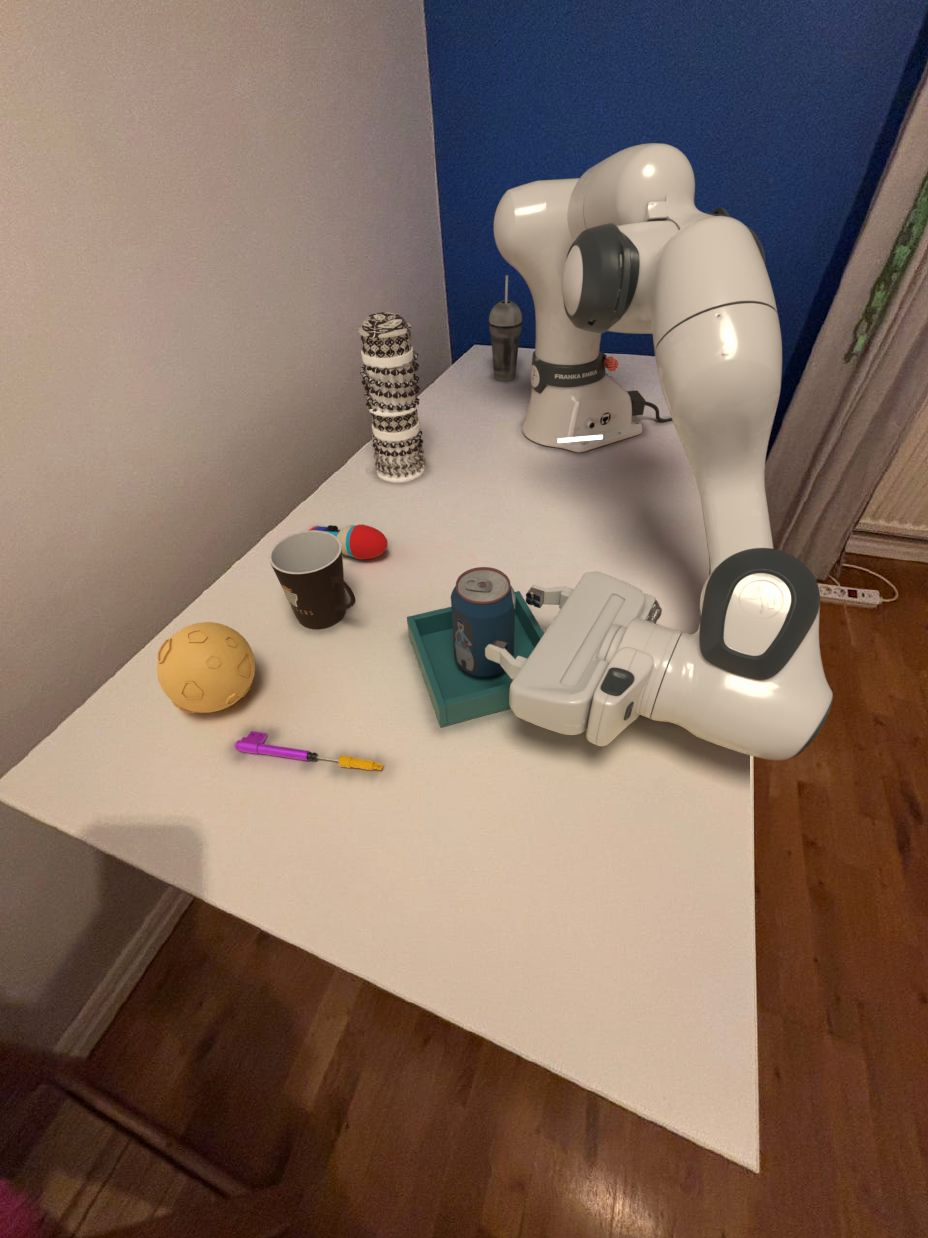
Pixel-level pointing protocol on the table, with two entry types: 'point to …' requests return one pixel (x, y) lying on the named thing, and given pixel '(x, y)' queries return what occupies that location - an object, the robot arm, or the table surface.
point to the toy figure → (358, 540)
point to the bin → (448, 682)
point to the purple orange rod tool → (297, 752)
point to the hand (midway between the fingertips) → (509, 619)
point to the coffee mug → (312, 577)
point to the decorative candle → (392, 396)
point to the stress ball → (205, 667)
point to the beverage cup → (505, 337)
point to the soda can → (482, 619)
